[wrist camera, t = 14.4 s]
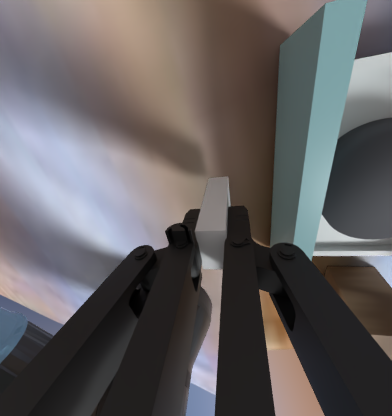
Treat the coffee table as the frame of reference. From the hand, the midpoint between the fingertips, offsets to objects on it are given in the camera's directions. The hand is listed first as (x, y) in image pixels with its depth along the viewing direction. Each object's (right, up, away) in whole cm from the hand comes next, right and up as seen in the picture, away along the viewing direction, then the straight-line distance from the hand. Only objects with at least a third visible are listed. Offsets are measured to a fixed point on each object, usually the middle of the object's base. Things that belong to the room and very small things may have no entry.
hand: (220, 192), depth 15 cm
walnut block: (+15, -10, +7) cm, 19 cm away
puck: (+10, +1, -2) cm, 11 cm away
